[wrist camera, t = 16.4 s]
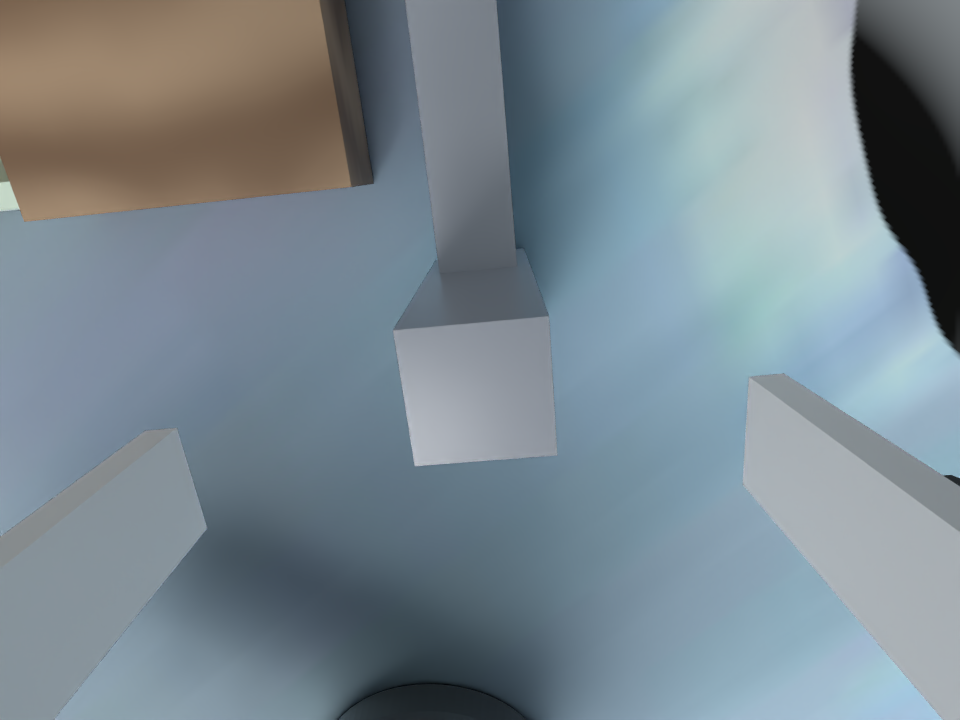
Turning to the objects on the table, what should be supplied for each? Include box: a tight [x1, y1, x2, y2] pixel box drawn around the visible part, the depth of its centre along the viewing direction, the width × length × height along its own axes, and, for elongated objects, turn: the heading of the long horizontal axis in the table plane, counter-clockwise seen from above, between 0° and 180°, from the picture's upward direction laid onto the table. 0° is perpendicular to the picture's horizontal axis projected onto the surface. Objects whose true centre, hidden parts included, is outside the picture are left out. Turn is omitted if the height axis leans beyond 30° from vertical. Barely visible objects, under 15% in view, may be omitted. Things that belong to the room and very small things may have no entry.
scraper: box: [393, 0, 557, 466], centre depth 17 cm, size 24×4×12 cm, turn 6°
